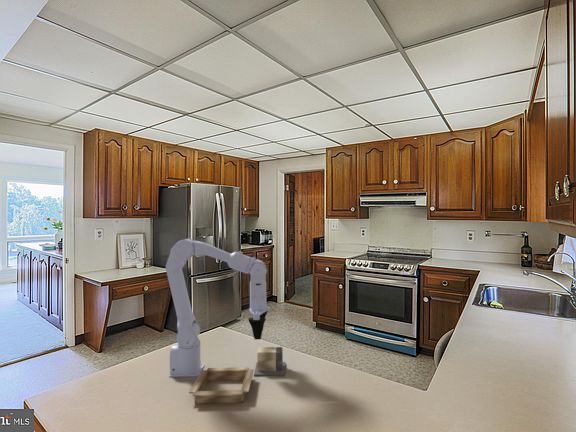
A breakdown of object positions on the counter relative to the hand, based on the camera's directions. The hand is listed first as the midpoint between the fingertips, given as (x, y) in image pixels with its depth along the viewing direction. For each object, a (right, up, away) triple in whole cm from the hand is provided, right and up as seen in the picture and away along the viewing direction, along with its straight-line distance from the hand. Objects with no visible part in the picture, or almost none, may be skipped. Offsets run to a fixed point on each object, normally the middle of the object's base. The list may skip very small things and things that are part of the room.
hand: (258, 335), depth 110 cm
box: (+4, -10, -3) cm, 11 cm away
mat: (+4, -10, -3) cm, 12 cm away
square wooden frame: (-9, -10, -16) cm, 21 cm away
